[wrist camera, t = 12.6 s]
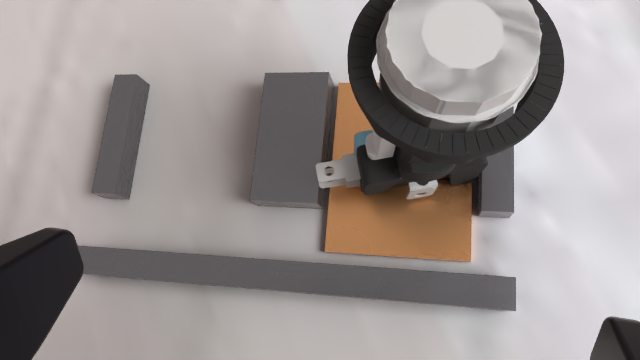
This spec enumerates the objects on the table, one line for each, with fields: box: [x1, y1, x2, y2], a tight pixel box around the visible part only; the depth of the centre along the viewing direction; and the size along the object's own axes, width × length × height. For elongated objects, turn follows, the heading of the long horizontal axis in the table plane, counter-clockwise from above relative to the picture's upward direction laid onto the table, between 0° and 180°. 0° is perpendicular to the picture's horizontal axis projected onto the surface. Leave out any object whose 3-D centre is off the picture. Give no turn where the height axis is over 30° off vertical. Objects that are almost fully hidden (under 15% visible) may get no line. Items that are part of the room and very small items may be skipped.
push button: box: [316, 0, 564, 199], centre depth 16 cm, size 7×5×10 cm
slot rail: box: [78, 72, 516, 311], centre depth 22 cm, size 19×10×2 cm, turn 85°
